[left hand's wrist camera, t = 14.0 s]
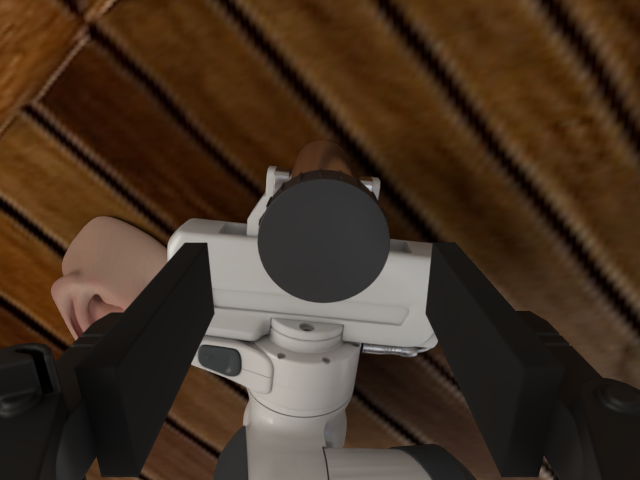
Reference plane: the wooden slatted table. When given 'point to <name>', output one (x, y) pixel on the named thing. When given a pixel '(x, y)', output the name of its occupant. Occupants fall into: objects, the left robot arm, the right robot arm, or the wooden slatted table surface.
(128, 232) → the anatomical model
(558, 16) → the wooden slatted table surface
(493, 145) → the wooden slatted table surface
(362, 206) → the lid
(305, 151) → the jar
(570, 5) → the wooden slatted table surface
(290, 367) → the right robot arm
